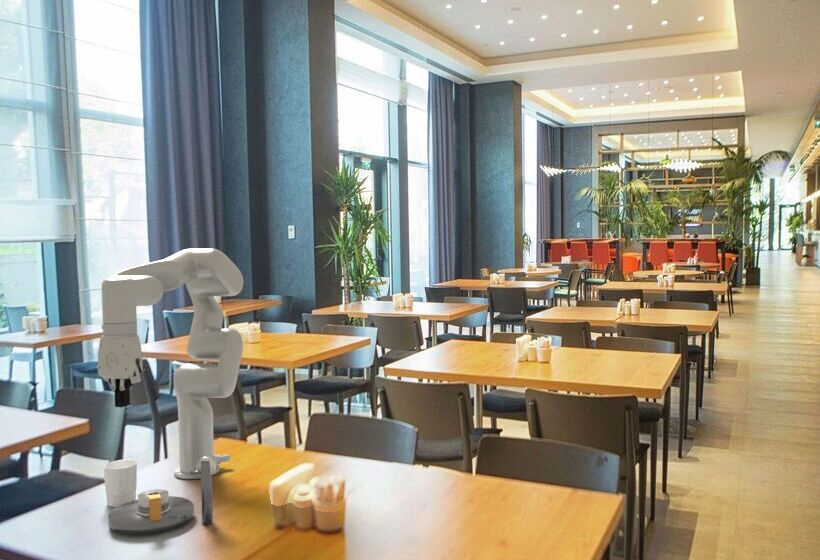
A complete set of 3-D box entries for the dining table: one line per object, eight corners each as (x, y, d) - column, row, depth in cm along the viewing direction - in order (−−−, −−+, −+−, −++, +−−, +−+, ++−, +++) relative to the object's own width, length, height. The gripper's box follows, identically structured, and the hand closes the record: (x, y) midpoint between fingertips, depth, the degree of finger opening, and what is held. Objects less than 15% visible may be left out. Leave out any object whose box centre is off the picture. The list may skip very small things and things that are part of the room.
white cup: (126, 509, 178) (125, 469, 177) (98, 507, 179) (96, 468, 179) (144, 498, 185) (143, 460, 185) (116, 496, 187) (115, 458, 186)
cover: (134, 508, 170) (133, 492, 170) (167, 502, 174) (166, 486, 174) (139, 519, 163) (139, 502, 163) (173, 512, 167) (173, 495, 167)
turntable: (106, 511, 174) (105, 481, 173) (187, 498, 182) (186, 470, 181) (111, 540, 156) (109, 507, 156) (200, 524, 165) (199, 493, 164)
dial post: (218, 521, 169) (216, 455, 168) (214, 525, 167) (213, 458, 166) (194, 520, 170) (192, 455, 169) (190, 524, 167) (188, 458, 166)
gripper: (83, 330, 169) (86, 407, 170) (132, 332, 164) (135, 412, 165) (108, 326, 176) (110, 400, 177) (156, 329, 171) (158, 405, 172)
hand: (122, 405), depth 171 cm, fingers closed
